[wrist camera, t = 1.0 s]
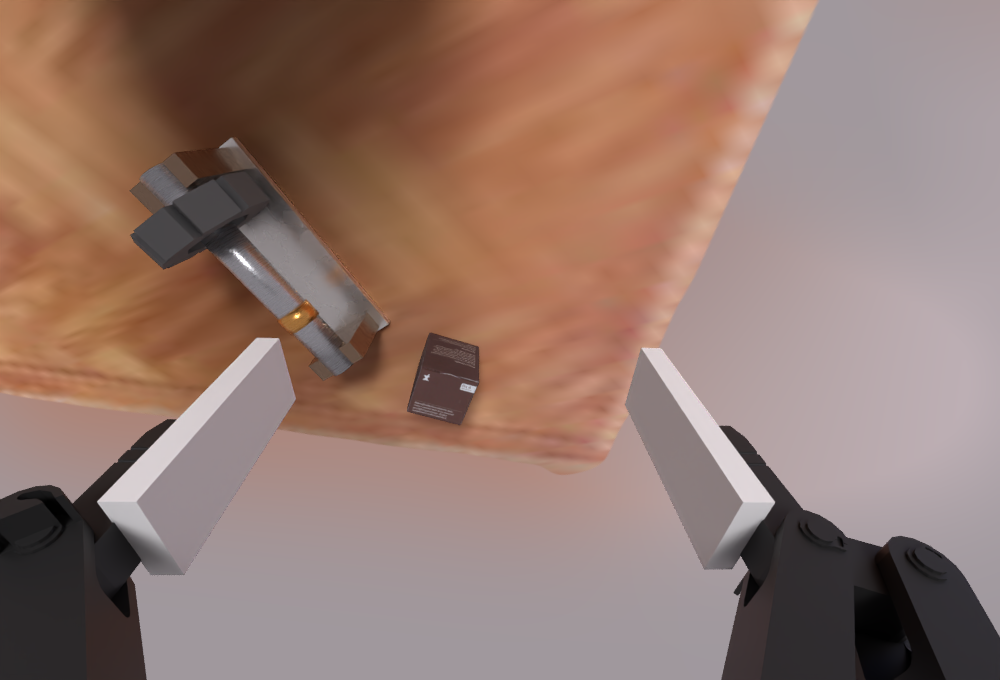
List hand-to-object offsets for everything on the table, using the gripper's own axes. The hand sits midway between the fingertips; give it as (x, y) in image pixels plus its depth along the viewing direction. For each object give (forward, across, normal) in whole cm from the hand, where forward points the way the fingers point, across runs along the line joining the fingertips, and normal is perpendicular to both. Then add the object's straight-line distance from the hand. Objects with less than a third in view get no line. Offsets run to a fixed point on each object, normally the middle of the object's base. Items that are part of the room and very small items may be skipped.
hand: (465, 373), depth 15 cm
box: (+26, -3, -17) cm, 32 cm away
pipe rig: (+27, -18, -6) cm, 33 cm away
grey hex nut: (+25, -21, 0) cm, 33 cm away
